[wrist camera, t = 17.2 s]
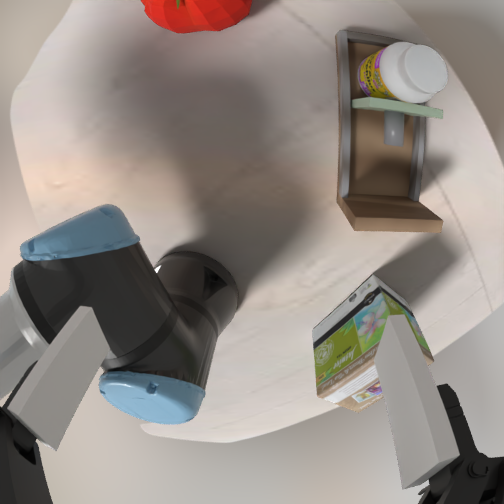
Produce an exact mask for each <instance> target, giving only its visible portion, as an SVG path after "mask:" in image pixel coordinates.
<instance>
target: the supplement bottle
mask: <svg viewBox="0 0 504 504" xmlns="http://www.w3.org/2000/svg"><path fill="white" fill-rule="evenodd" d="M358 81H359V84H360V87H361V88H362V90H363V91H364V93H365V94H366V95H367V96H368V97H373V98H381V99H388V100H394V101H400V102H406V103H423V102H426V101H428V100H429V99H431V98H432V97H433V96H434V95H435V93H437V92H440V91H441V90H442V89H443V88H444V87H445V86H446V84H447V81H448V71H447V67H446V64H445V62H444V60H443V59H442V57H441V56H440V55H439V53H437V52H436V51H435V50H434V49H432V48H431V47H428V46H425V45H416V44H413V43H409V42H397V43H394V44H391V45H389V46H388V47H386V48H384V49H382V50H380V51H378V52H376V53H374V54H372V55H371V56H369V57H367V58H365V59H364V60H363V61H362V62H361V64H360V66H359V68H358Z"/></svg>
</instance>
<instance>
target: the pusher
mask: <svg viewBox="0 0 504 504" xmlns="http://www.w3.org/2000/svg"><path fill="white" fill-rule="evenodd" d="M350 108H358V109H368V110H377V111H384V144H387V145H392V146H400V147H403V142H404V114H405V115H411V116H421V117H431V118H439V119H443V110H440V109H436V108H432V107H427V106H422V105H417V104H412V103H406V102H400V101H394V100H388V99H381V98H373V97H366V98H360V99H354V100H350Z"/></svg>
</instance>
